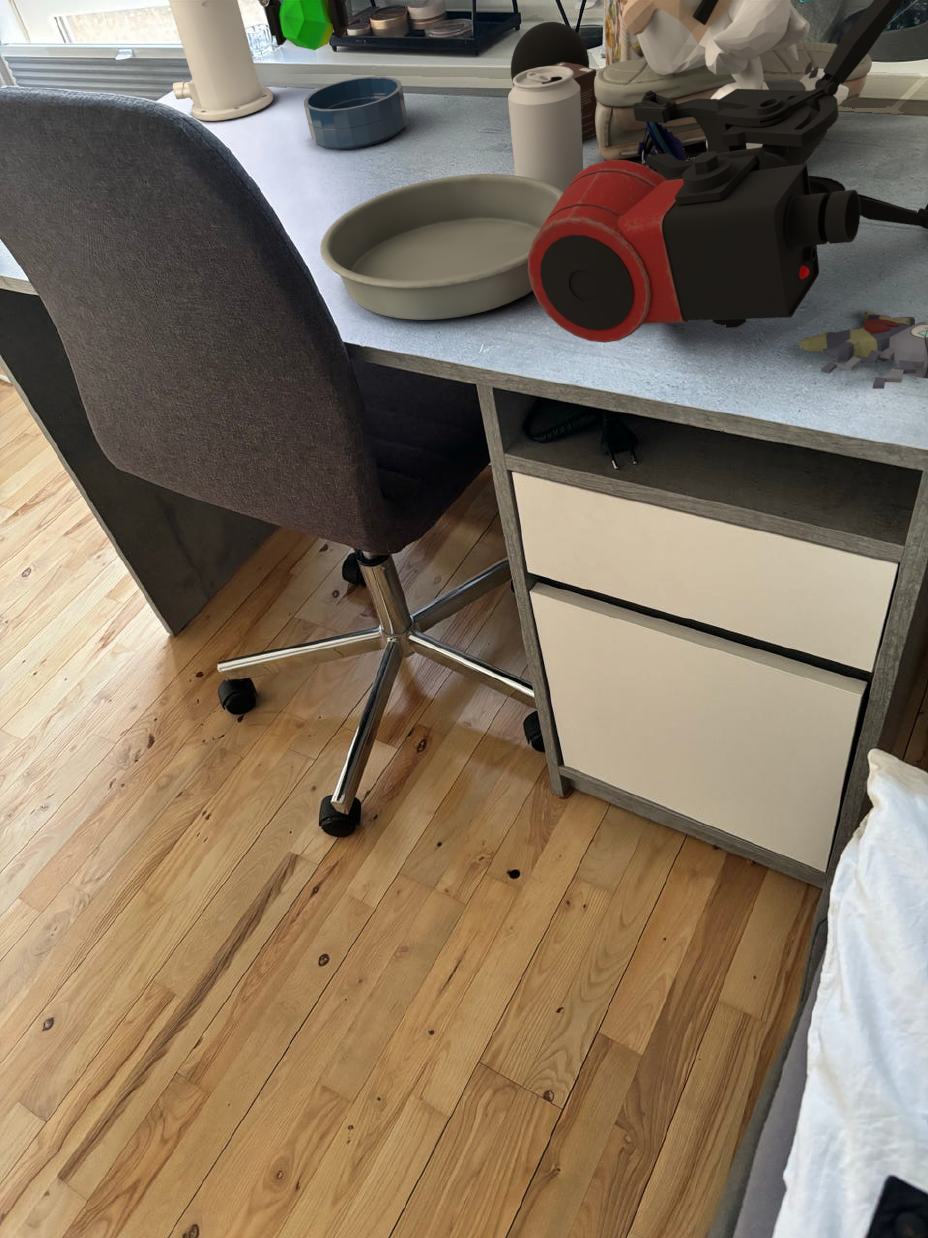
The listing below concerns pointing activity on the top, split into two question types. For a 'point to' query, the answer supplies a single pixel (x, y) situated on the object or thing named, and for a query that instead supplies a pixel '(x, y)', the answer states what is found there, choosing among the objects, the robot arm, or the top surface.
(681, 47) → the toy
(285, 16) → the apple
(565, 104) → the can
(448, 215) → the cake pan
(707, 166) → the camera
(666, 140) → the spaceship
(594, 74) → the box
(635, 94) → the loafer
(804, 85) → the giant panda
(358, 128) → the bowl
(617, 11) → the decorative jar
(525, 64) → the decorative ball
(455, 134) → the top surface
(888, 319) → the toy
